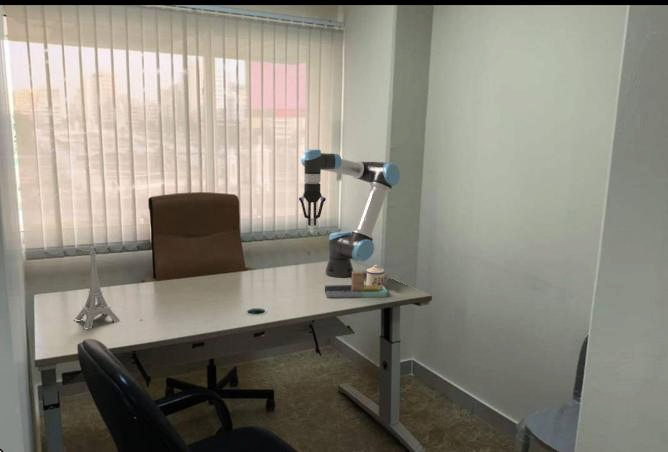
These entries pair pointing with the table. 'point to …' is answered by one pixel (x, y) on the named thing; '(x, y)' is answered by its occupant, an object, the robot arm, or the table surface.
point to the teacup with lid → (376, 276)
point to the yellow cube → (375, 288)
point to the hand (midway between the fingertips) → (311, 232)
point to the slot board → (341, 291)
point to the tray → (376, 293)
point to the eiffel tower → (95, 293)
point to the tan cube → (367, 288)
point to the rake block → (357, 281)
